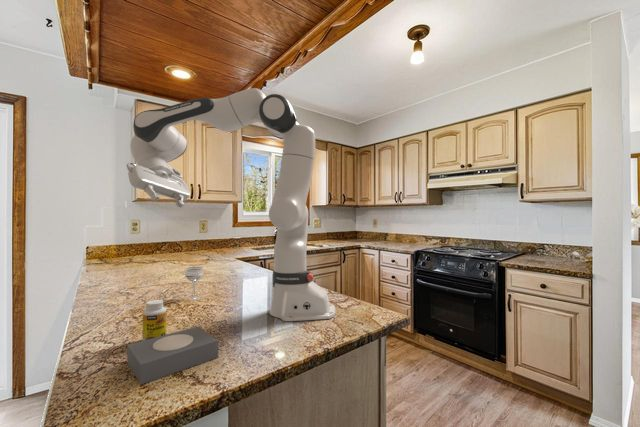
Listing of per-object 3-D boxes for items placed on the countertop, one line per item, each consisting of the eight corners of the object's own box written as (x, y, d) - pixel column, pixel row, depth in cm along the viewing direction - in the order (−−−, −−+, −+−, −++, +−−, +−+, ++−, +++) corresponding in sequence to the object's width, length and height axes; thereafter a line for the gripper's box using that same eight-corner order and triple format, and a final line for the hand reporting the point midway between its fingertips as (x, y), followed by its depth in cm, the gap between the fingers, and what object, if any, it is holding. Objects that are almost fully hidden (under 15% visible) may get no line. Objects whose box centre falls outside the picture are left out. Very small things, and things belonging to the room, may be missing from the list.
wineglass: (197, 301, 114) (197, 270, 114) (181, 300, 115) (181, 269, 115) (206, 296, 121) (206, 266, 120) (191, 295, 122) (191, 266, 122)
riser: (198, 341, 79) (198, 325, 79) (218, 357, 70) (218, 339, 70) (127, 362, 68) (127, 344, 68) (140, 384, 59) (140, 363, 59)
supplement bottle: (143, 346, 76) (143, 306, 76) (142, 338, 80) (142, 300, 80) (167, 341, 79) (167, 302, 79) (165, 334, 83) (165, 297, 83)
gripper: (131, 154, 90) (145, 187, 85) (185, 175, 108) (199, 203, 103) (118, 167, 91) (131, 201, 86) (173, 186, 110) (187, 214, 104)
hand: (168, 202), depth 95 cm, fingers open, 8 cm apart
